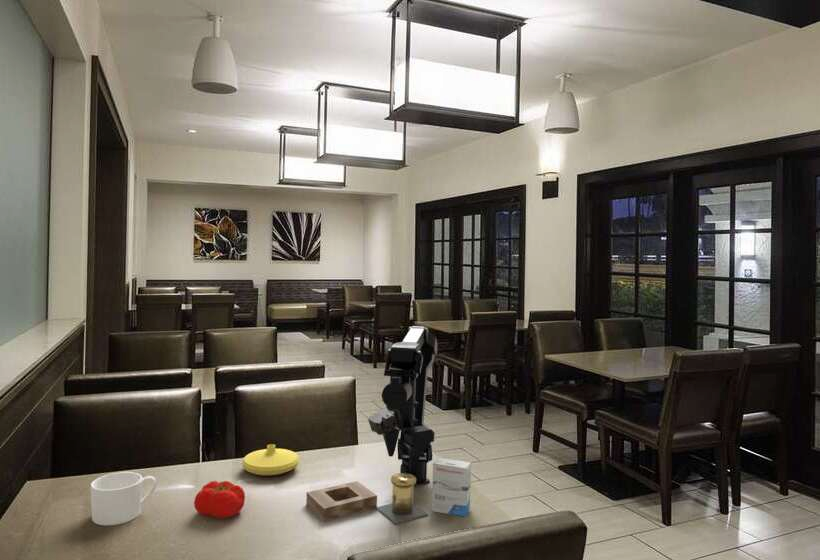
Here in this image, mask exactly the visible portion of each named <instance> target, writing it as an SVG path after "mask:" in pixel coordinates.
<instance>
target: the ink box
mask: <svg viewBox="0 0 820 560" xmlns="http://www.w3.org/2000/svg"><path fill="white" fill-rule="evenodd" d="M432 465H433V466H432V467H433V468H432V491H431V498H432V499H431V511H432V512H435V513H443V514H446V515H447V514H448V515H451V516H452V515H453V516H458V517H464V518H465V517H467V516H468V514H469V511H470V508H471V507H470V505H471V482H472V481H471V479H472V462H470V461H462V460H456V459H451V458H443V457H438V458H437V459H436V460H435V461H434V462H433V463H432Z"/></svg>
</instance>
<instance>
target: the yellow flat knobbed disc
mask: <svg viewBox="0 0 820 560" xmlns="http://www.w3.org/2000/svg"><path fill="white" fill-rule="evenodd" d="M299 462H300V456H299V455H298V454H297V453H296V452H294V451H293V450H289V449H285V448H276V444H268V445H267V446H266V448H264V449H259V450H254V451H252V452H250V453H248V454H246V455H245V456H244V457H243V459H241V465H242V467H243V469H244V470H245V471H246V472H249V473H252V474H254V475H257V476H263V477H265V476H267V477H268V476H269V477H272V476H279V475H283V474H285V473H287V472H289V471H292V470H293V469H295V468H297V466H298V465H299Z"/></svg>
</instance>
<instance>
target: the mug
mask: <svg viewBox="0 0 820 560" xmlns="http://www.w3.org/2000/svg"><path fill="white" fill-rule="evenodd" d="M146 481H152V486H151V488H150V490H149V491H148V492H147V493H146V494H145V495H144V496H143V483H144V482H146ZM156 487H157V480H156V477H154V476H152V475H147V476H144V477H143V476H142V475H141V474H140V473H137V472H131V471H121V472H114V473H113V472H112V473H108V474H105V475H103V476H99V477H98V478H95V479H94V480H93V481H92V482H91V484H90V501H91V503H90V504H91V521H92V522H93V523H94V524H96V525H98V526H116V525H121V524H125V523H128V522H130V521H133V520H134V519H136V518H137V517H138V516H139V515H140V514H141V512H142V511H141V510H142V504H143V503H144V502H145V501H146V500H147V499H148V498H149V497H150V496H151V495H152V494H153V493H154V491H155V489H156ZM142 496H143V497H142Z"/></svg>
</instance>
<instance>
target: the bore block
mask: <svg viewBox="0 0 820 560" xmlns="http://www.w3.org/2000/svg"><path fill="white" fill-rule="evenodd" d="M377 505H378V495H377V494H376V493H375V492H373V491H371V490H370V489H369V488H368V487H366V486H365V485H364V484H362V483H361V482H360V481H358V480H357V481H352V482H348V483H347V482H346V483H342V484H338V485H334V486H330V487H324V488H320V489H316V490H312V491H307V492H306V506H307V507H308V508H309V509H311V511H312V512H314V514H316V516H318V518H320V519H321V520H322V521H323V522H326V521H327V522H328V521H330V520H331V521H332V520H335V519H339V518H342V517H346V516H350V515H353V514H357V513H360V512H361V513H362V512H365V511H369V510H373V509H376V507H378V506H377Z"/></svg>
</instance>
